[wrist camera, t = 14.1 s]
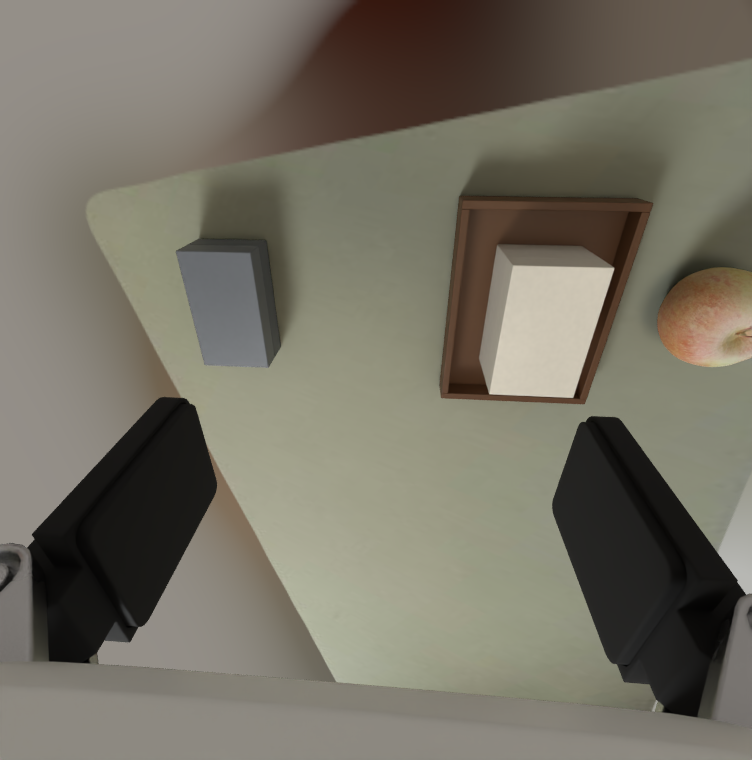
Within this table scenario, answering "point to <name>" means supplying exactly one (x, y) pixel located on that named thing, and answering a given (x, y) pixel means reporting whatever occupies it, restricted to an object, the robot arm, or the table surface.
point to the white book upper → (500, 280)
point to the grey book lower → (266, 277)
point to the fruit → (709, 317)
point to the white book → (545, 325)
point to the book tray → (530, 227)
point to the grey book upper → (228, 304)
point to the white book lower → (495, 274)
